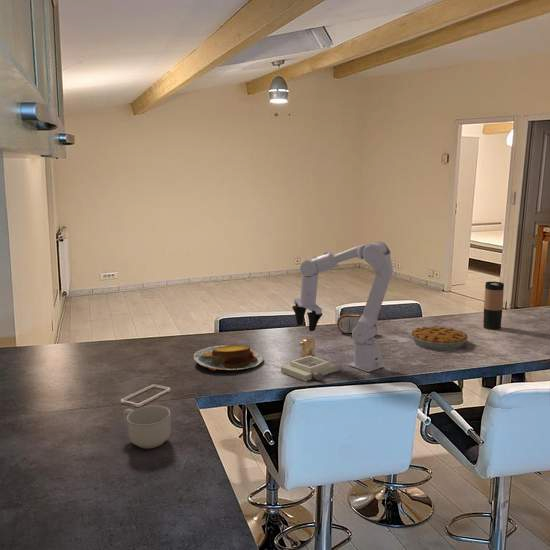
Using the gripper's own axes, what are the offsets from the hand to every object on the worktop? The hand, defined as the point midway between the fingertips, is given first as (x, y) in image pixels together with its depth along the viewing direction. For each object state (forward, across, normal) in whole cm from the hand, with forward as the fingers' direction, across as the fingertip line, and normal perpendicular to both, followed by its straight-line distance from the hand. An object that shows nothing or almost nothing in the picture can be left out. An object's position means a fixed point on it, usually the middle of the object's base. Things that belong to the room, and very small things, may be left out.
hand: (305, 327), depth 211 cm
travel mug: (+7, +14, +92) cm, 93 cm away
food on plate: (+14, -10, -27) cm, 31 cm away
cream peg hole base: (+10, +16, -8) cm, 21 cm away
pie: (+8, +16, +55) cm, 58 cm away
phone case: (+14, +5, -63) cm, 65 cm away
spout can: (+11, +2, 0) cm, 11 cm away
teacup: (+12, +34, -74) cm, 82 cm away
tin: (+11, -13, +36) cm, 40 cm away
